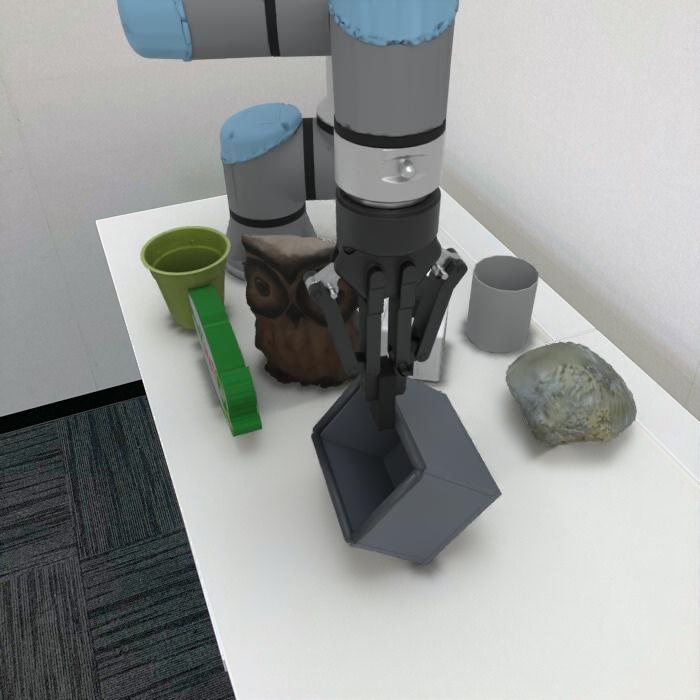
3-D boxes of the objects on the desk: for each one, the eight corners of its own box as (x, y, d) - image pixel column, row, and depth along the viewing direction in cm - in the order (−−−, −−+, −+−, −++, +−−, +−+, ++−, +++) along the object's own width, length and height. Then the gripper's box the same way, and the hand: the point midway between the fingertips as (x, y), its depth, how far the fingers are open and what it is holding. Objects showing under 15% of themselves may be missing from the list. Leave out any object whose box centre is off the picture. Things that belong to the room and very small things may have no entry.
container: (438, 383, 90) (446, 300, 81) (378, 375, 91) (380, 293, 82) (444, 345, 95) (452, 264, 87) (388, 338, 97) (390, 257, 88)
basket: (428, 569, 69) (504, 498, 65) (345, 549, 63) (423, 469, 59) (381, 457, 80) (444, 391, 76) (307, 431, 74) (370, 357, 70)
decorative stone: (557, 387, 94) (622, 345, 88) (592, 485, 83) (667, 445, 78) (488, 345, 86) (554, 296, 81) (517, 446, 76) (594, 399, 71)
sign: (265, 450, 81) (257, 387, 75) (238, 458, 80) (227, 394, 74) (215, 320, 100) (205, 260, 94) (193, 325, 99) (181, 265, 93)
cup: (540, 338, 96) (553, 277, 90) (495, 361, 93) (505, 299, 86) (497, 308, 102) (506, 248, 95) (453, 328, 98) (460, 268, 92)
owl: (373, 380, 90) (375, 245, 77) (283, 413, 86) (268, 276, 73) (329, 326, 99) (324, 197, 86) (245, 354, 94) (226, 222, 81)
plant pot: (148, 304, 103) (132, 237, 96) (226, 284, 107) (216, 218, 99) (166, 351, 95) (150, 282, 88) (250, 328, 98) (241, 260, 91)
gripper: (310, 223, 46) (323, 464, 61) (495, 196, 48) (463, 433, 63) (286, 173, 51) (304, 405, 66) (454, 151, 54) (434, 379, 69)
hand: (382, 419), depth 65 cm, fingers closed
